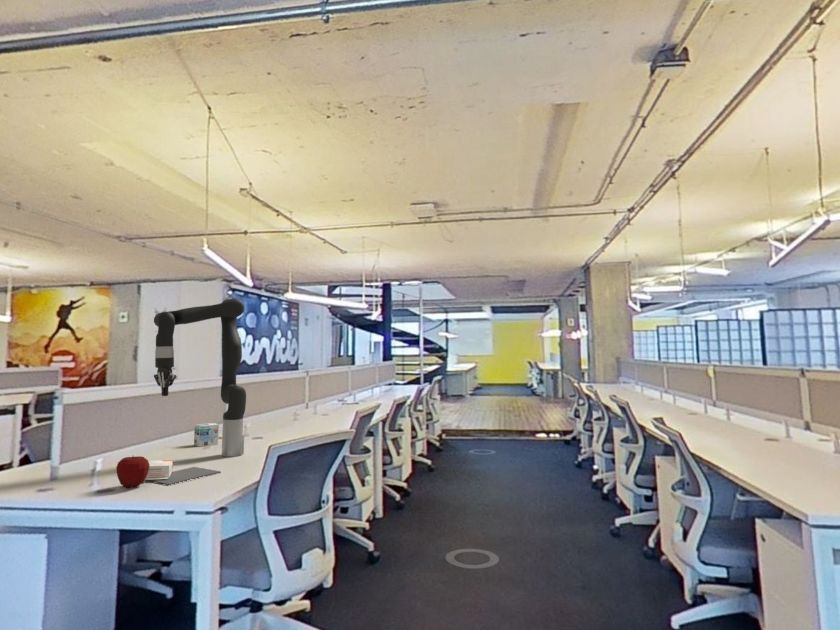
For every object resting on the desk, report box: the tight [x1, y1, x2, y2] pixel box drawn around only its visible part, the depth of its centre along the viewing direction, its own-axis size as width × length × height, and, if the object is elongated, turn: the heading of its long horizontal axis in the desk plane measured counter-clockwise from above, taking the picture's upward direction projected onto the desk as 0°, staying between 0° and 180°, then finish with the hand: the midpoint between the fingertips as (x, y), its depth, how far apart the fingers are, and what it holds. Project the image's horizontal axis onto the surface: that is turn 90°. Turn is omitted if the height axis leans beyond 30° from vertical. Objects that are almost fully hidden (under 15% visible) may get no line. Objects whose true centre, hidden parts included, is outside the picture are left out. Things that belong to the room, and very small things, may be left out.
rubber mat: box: [145, 466, 222, 486], centre depth 212 cm, size 24×16×1 cm, turn 152°
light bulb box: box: [193, 422, 220, 447], centre depth 281 cm, size 11×7×11 cm, turn 137°
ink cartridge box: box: [145, 459, 174, 480], centre depth 210 cm, size 9×5×15 cm
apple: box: [115, 455, 150, 489], centre depth 196 cm, size 11×11×12 cm
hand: (164, 395), depth 236 cm, fingers closed
